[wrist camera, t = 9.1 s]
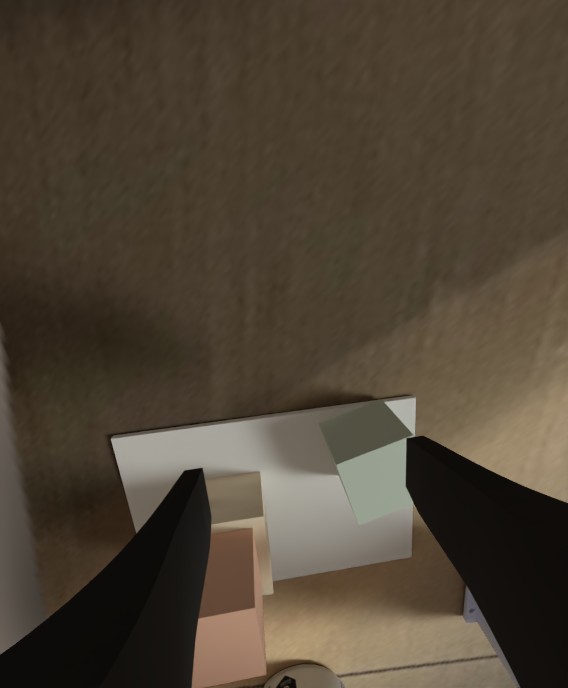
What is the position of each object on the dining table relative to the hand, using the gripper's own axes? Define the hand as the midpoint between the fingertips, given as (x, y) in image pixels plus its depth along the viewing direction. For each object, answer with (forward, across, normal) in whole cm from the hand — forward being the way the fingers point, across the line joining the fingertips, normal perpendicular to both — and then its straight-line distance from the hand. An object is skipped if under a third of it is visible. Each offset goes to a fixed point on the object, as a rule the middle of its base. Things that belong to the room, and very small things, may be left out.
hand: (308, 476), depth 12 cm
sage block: (+10, -5, +6) cm, 12 cm away
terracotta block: (+6, +5, +10) cm, 13 cm away
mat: (+10, +1, +10) cm, 14 cm away
